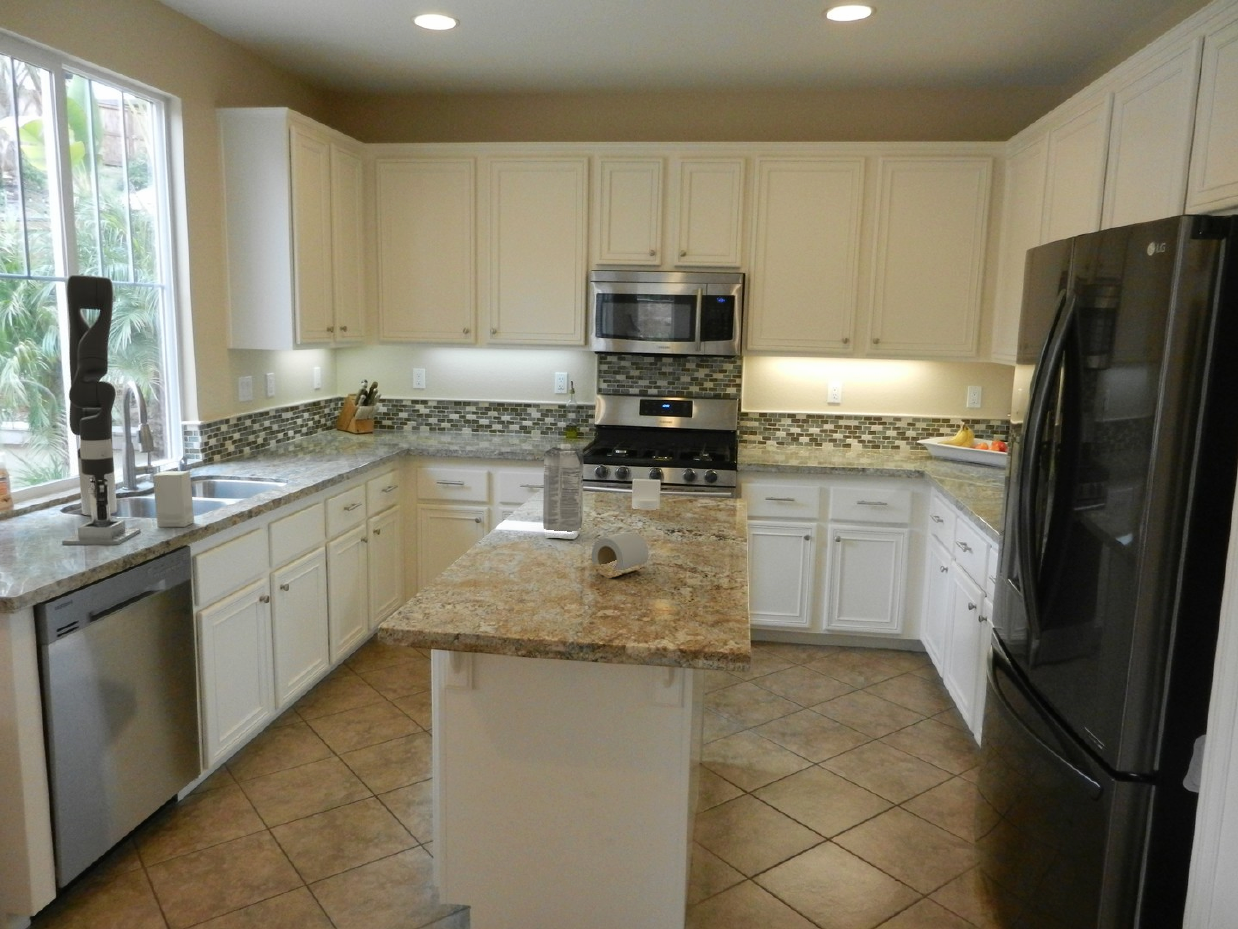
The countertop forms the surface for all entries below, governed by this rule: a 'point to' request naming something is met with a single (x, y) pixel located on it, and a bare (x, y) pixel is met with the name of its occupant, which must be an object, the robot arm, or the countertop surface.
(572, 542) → the countertop surface
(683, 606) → the countertop surface
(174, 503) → the skincare box
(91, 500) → the pale grey upright block
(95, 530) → the duct plate
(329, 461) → the countertop surface
